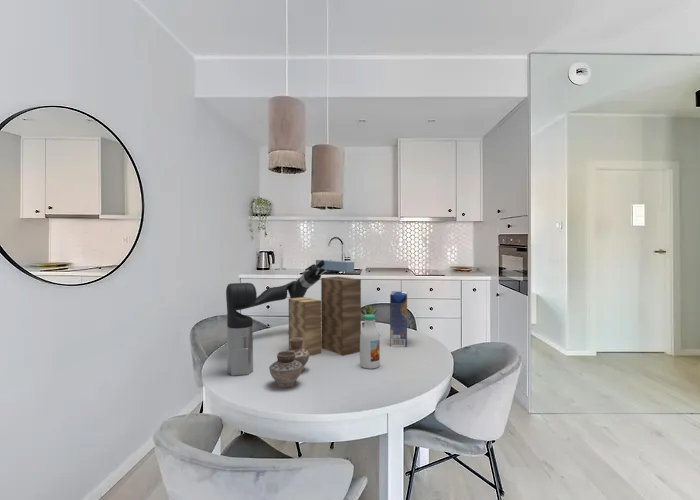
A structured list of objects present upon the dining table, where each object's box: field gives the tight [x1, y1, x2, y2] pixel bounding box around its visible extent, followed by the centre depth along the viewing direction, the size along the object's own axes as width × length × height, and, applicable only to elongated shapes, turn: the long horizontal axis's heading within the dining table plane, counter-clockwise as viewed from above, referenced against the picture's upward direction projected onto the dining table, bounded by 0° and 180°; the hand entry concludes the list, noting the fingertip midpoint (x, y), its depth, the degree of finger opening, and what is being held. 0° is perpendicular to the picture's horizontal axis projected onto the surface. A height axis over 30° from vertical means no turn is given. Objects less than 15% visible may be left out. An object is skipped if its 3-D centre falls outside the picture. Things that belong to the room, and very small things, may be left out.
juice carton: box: [389, 290, 408, 348], centre depth 185 cm, size 12×8×24 cm, turn 170°
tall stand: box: [320, 276, 362, 356], centre depth 175 cm, size 16×10×32 cm, turn 39°
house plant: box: [361, 304, 380, 329], centre depth 202 cm, size 14×14×16 cm
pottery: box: [268, 338, 310, 388], centre depth 140 cm, size 11×25×12 cm, turn 174°
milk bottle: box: [359, 313, 381, 370], centre depth 152 cm, size 8×8×20 cm
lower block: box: [288, 296, 322, 357], centre depth 173 cm, size 14×8×23 cm, turn 39°
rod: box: [315, 259, 355, 273], centre depth 178 cm, size 24×4×4 cm, turn 39°
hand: (327, 261), depth 182 cm, fingers closed on rod, 4 cm apart
